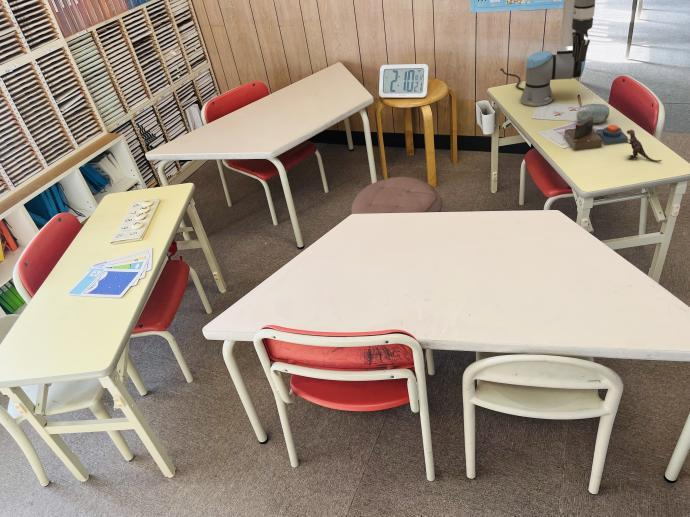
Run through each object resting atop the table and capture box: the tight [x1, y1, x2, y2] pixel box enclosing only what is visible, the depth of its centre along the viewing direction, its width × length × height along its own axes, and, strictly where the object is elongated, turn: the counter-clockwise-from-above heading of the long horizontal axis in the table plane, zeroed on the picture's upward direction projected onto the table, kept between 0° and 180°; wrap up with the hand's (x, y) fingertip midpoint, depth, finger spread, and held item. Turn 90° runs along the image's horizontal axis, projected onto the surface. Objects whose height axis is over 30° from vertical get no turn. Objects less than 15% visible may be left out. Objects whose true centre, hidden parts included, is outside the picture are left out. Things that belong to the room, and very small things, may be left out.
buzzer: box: [595, 126, 629, 146], centre depth 227 cm, size 11×9×4 cm
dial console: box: [563, 127, 603, 152], centre depth 228 cm, size 14×14×4 cm
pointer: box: [574, 117, 594, 139], centre depth 225 cm, size 10×2×6 cm, turn 127°
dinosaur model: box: [626, 129, 663, 163], centre depth 207 cm, size 4×12×15 cm
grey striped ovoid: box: [575, 103, 610, 124], centre depth 240 cm, size 14×10×10 cm
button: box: [607, 124, 619, 132], centre depth 225 cm, size 4×4×2 cm
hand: (576, 76), depth 224 cm, fingers closed
